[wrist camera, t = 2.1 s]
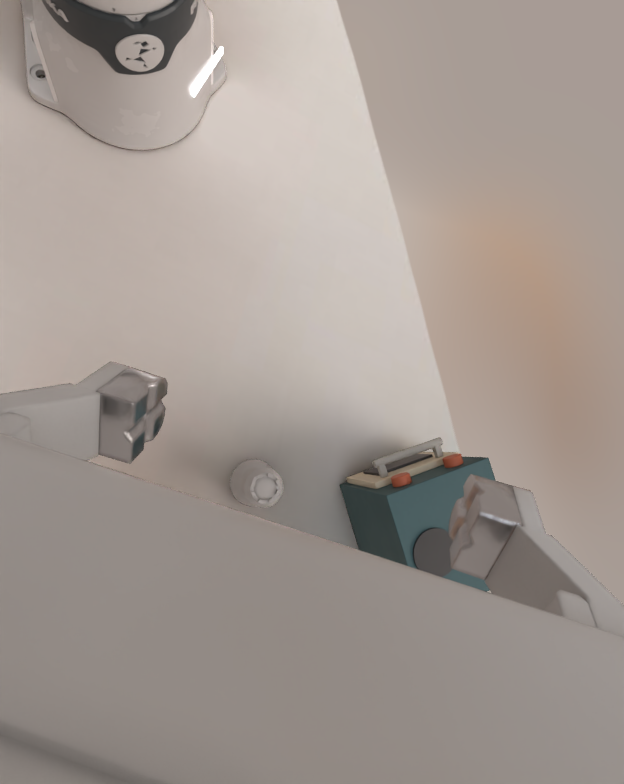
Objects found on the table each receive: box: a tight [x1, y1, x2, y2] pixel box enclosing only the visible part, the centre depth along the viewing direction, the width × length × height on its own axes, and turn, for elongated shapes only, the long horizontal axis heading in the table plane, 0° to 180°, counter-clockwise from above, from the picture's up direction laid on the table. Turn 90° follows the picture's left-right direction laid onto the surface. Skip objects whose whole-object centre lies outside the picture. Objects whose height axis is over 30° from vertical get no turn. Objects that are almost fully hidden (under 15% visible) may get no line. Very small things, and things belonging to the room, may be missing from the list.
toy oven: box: [340, 438, 495, 592], centre depth 46 cm, size 12×10×12 cm
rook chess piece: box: [230, 459, 283, 508], centre depth 44 cm, size 4×4×8 cm
